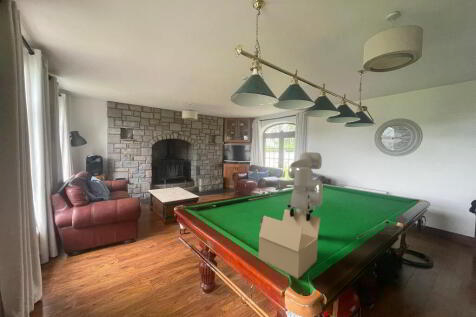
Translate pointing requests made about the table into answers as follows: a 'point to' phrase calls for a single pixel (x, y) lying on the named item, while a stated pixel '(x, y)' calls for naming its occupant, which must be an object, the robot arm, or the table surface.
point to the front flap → (281, 233)
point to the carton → (289, 255)
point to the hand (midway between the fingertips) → (299, 218)
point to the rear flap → (303, 222)
